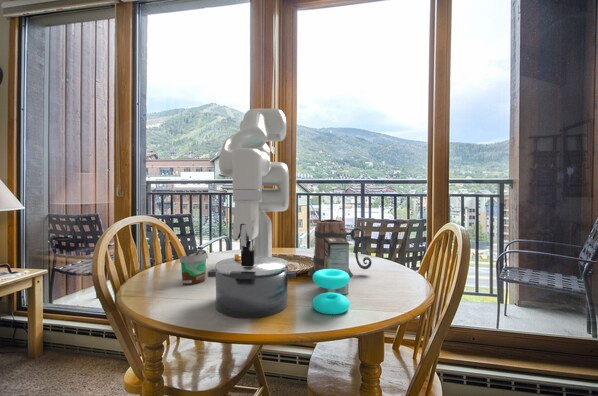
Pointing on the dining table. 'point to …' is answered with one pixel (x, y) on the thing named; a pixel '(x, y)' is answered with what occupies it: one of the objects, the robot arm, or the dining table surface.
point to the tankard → (333, 231)
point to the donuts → (331, 301)
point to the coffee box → (337, 258)
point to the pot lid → (260, 267)
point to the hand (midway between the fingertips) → (247, 265)
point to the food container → (193, 267)
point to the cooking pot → (251, 294)
